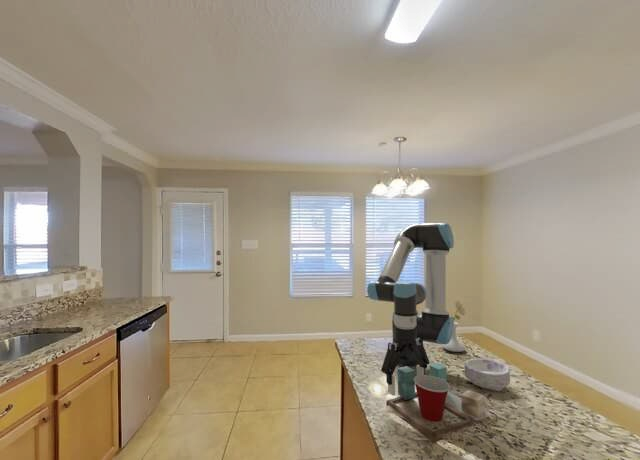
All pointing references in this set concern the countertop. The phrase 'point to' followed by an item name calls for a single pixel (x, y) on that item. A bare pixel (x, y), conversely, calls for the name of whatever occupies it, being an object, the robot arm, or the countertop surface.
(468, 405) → the beech cube
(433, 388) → the plastic cup
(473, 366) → the paper bowls
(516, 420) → the countertop surface
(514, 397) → the countertop surface
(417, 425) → the frame
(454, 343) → the flower in vase
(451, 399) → the sled
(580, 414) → the countertop surface
